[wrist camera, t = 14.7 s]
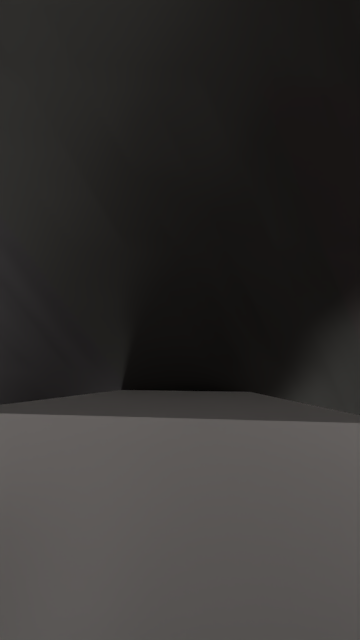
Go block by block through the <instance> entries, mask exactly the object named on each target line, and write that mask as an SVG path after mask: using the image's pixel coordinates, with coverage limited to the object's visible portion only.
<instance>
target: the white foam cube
mask: <svg viewBox="0 0 360 640" xmlns="http://www.w3.org/2000/svg"><path fill="white" fill-rule="evenodd" d="M0 640H360V415H355V414H351V413H346V412H341V411H337V410H332V409H327V408H323V407H318V406H314V405H309V404H304V403H300V402H295V401H290V400H286V399H281V398H276V397H272V396H267V395H263V394H258V393H253V392H225V391H158V390H117V391H109V392H101V393H92V394H84V395H76V396H68V397H60V398H52V399H44V400H36V401H28V402H20V403H11V404H3V405H0Z"/></svg>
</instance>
